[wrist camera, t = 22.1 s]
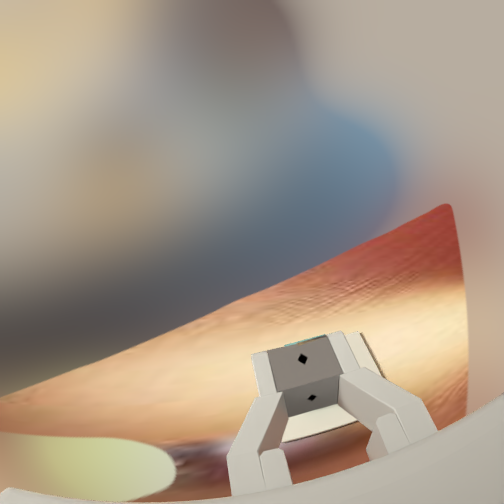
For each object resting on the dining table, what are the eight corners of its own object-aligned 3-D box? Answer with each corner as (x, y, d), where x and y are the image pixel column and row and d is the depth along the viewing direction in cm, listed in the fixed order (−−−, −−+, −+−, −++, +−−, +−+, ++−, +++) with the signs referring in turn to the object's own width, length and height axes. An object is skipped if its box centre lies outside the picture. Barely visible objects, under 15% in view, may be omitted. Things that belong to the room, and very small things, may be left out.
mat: (282, 442, 34) (282, 441, 34) (262, 359, 46) (262, 357, 46) (395, 406, 35) (396, 405, 35) (357, 332, 46) (358, 331, 46)
